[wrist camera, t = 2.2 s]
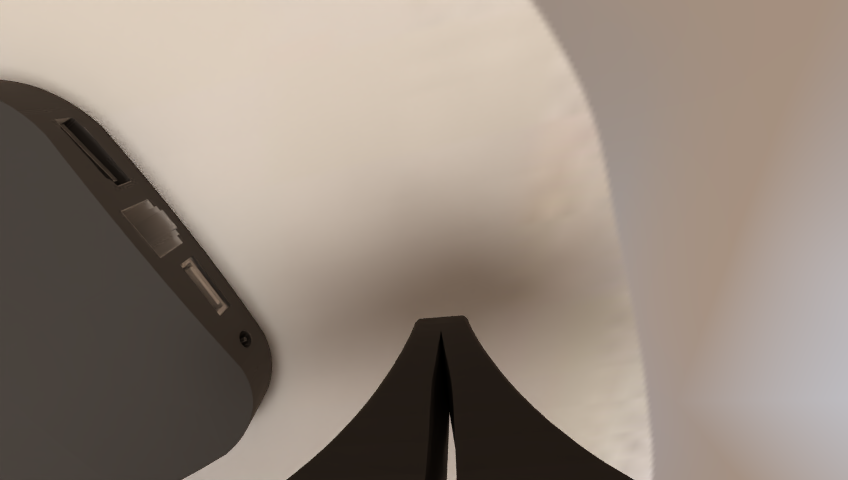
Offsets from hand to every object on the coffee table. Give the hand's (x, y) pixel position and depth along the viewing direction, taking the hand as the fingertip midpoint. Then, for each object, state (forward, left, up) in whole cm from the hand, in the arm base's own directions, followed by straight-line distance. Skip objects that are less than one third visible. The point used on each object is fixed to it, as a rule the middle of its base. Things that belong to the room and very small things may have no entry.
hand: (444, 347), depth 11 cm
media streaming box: (0, +15, -4) cm, 16 cm away
